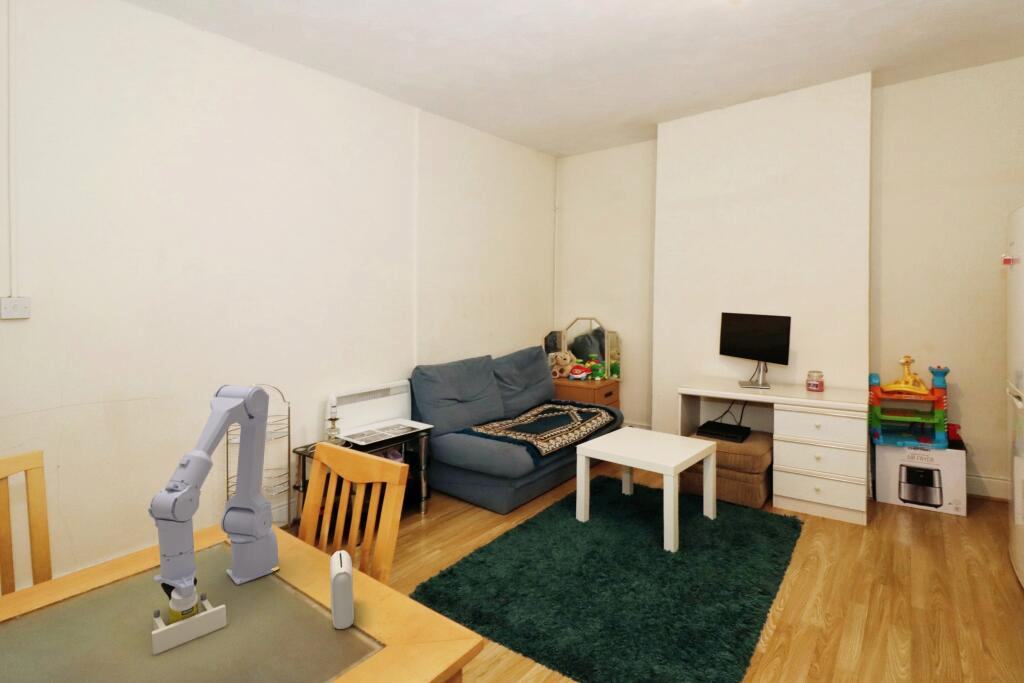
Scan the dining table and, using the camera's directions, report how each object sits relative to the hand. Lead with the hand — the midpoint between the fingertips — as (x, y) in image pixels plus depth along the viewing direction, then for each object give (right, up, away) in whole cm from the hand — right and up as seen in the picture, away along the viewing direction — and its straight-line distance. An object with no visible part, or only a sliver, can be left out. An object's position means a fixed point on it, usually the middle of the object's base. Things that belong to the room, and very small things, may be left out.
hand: (181, 615), depth 105 cm
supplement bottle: (+2, -1, -2) cm, 3 cm away
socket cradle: (+2, -2, -2) cm, 3 cm away
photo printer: (+31, -1, +3) cm, 31 cm away
